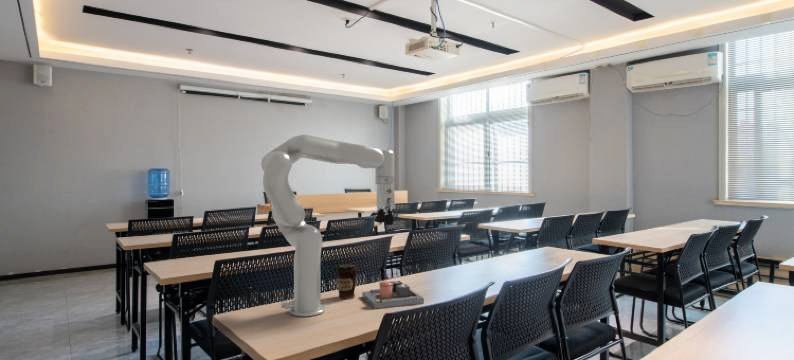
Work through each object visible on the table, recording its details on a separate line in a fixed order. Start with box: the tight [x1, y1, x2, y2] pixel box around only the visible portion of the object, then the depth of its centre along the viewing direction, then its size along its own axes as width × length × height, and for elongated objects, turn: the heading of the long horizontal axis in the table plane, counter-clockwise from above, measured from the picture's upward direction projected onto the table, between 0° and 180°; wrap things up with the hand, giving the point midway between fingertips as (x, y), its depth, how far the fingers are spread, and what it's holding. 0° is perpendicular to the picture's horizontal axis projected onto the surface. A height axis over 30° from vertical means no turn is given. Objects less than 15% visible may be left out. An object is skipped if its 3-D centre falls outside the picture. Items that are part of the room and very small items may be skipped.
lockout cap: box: [378, 281, 393, 300], centre depth 173 cm, size 5×5×6 cm
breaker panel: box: [361, 280, 425, 310], centre depth 178 cm, size 20×17×6 cm
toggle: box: [396, 283, 411, 298], centre depth 175 cm, size 4×4×4 cm
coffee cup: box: [336, 264, 358, 300], centre depth 182 cm, size 9×8×13 cm
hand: (384, 223), depth 180 cm, fingers open, 9 cm apart
